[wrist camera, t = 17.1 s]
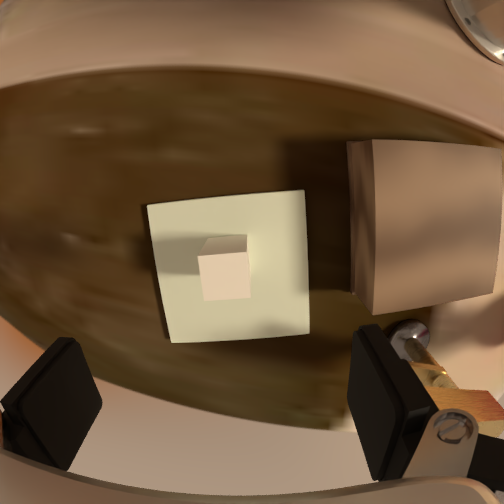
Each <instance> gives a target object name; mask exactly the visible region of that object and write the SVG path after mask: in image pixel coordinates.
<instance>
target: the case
mask: <svg viewBox="0 0 504 504" xmlns="http://www.w3.org/2000/svg"><path fill="white" fill-rule="evenodd" d="M346 145H347V159H348V174H349V194H350V226H351V283H350V292H351V294H352V295H354V294H356V295H357V296H358V297H359V299H360V300H361V301H362V302H363V304H364V305H365V306H366V308H367V309H368V310H369V311H370V313H371V314H372V315H378V314H384V313H391V312H397V311H403V310H409V309H415V308H421V307H426V306H432V305H437V304H443V303H448V302H453V301H458V300H463V299H467V298H472V297H477V296H481V295H486V294H490V293H493V288H494V282H495V275H496V268H497V261H498V252H499V242H500V230H501V214H502V156H501V149H497V148H490V147H482V146H473V145H463V144H453V143H441V142H426V141H408V140H376V139H372V140H367V141H347V142H346Z"/></svg>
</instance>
